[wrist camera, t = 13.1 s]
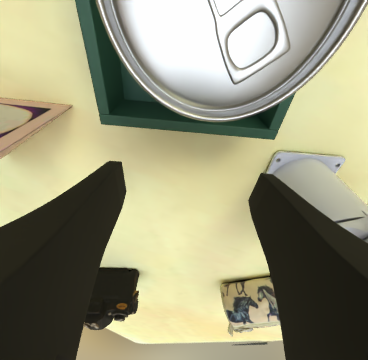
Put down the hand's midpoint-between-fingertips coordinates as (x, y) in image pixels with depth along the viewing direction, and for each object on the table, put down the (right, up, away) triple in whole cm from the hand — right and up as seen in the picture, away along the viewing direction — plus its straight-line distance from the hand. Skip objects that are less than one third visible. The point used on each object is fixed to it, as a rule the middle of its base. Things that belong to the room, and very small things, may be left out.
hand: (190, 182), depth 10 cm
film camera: (-17, -22, +32) cm, 43 cm away
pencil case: (+19, -23, +32) cm, 44 cm away
